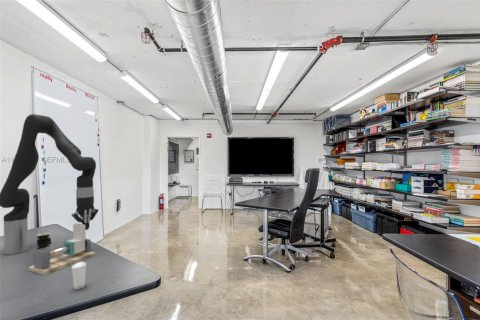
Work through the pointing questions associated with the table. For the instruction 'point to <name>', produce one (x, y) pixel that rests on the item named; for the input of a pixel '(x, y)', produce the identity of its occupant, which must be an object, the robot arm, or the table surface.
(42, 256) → the pipe stand
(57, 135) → the robot arm
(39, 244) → the pneumatic valve
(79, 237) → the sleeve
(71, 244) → the thin teal tile
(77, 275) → the milkshake
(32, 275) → the table surface
